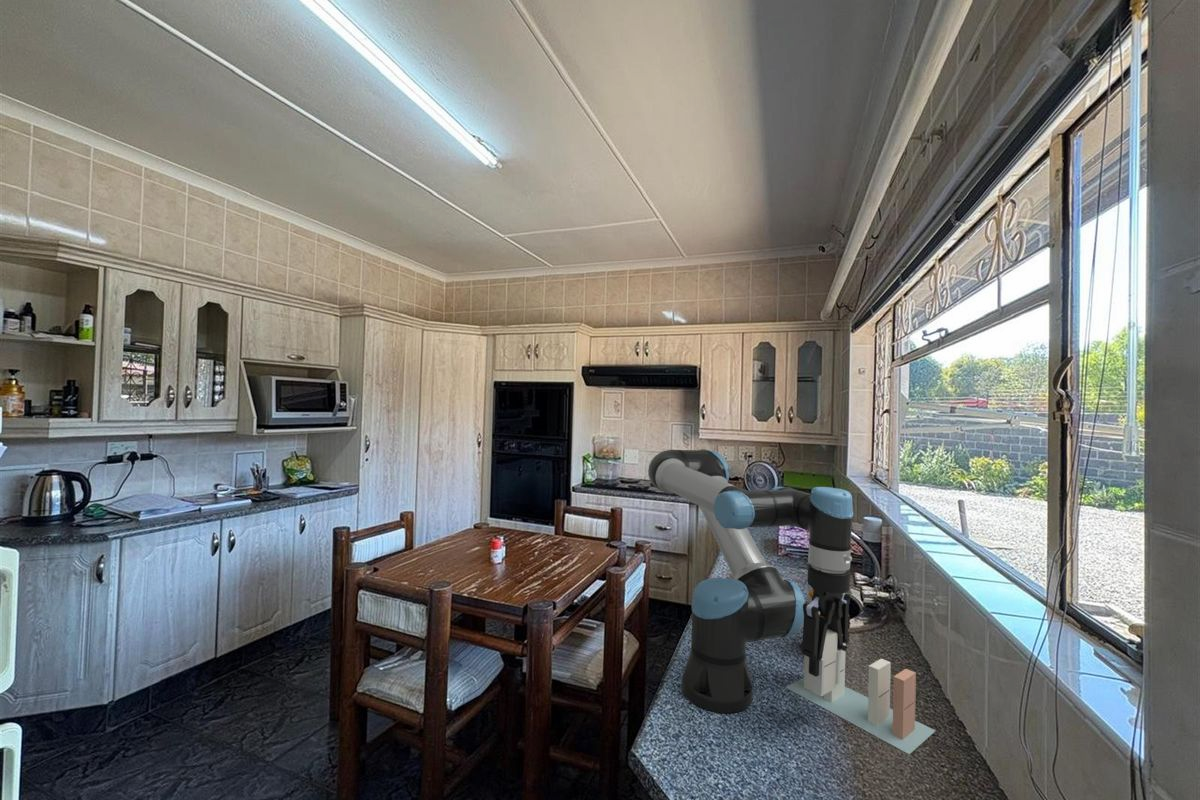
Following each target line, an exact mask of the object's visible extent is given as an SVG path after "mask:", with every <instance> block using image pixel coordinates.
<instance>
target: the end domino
mask: <svg viewBox="0 0 1200 800" xmlns="http://www.w3.org/2000/svg"><path fill="white" fill-rule="evenodd" d="M916 683H917V672H916V671H913V670H910V669H908V668H904V669H903V670H902V671H899V672H898V673H897V674H895V675H893V687H892V688H893V691H892V710H893V733H892V734H893V735H895V736H897V737H898V738H900V739H902V740H903V739H904V738H905V737H907V736H908V735H909V734H910V733H911V732H913V731H914V730H915V721H916V691H917V688H916Z"/></svg>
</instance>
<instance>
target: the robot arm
mask: <svg viewBox="0 0 1200 800" xmlns="http://www.w3.org/2000/svg"><path fill="white" fill-rule="evenodd" d="M728 470H729V465H728V462H727V460H726V459H725V458H724V456H723V455H722V454H721V453H719V452H718V451H715V450H710V449H709V450H708V449H703V448H702V449H697V450H696V449H667V450H663V451H660V452H658V453H657V454H656V455H654V457H652V459H651V461H650V463H649V465H648V471H647V475H648V478H649V481H650V483H651V484H652V486H653V487H655V489H657V490H659V491H660V492H663V493H665V494H668V495H669V494H670V495H671V494H675V495H677V496H679V497H681V498H683V499H685V500H686V501H689V502H691V503H693V504H695V505H696V506H699V509H700V510H701V512H702V514H703V516H704V519H705V521H706V523H707V525H708V526H709V529H710V532H711V533H712V535H713V537H714V539H715V541H716V544H717V545H718V548H719V550H720V552H721V554H722V556H723V558H724V560H725V562H726V563H727V567H728V568H729V571H730V573H731V574H732V576H733V578H731V577H722V576H721V577H718V576H717V577H711V578H707V579H704V580H701V581H700V582H699V583H697V584H696V586H695V587H694V589H693V592H692V600H691V601H692V602H691V637H690V638H691V640H690V642H691V643H690V654H689V656H688V658H687V661H686V664H685V667H684V669H683V672H682V675H681V689H682V690H681V691H682V693H683V694H684V696H685V697H686V698H687V699H688V700H689V701H690V702H691V703H692V704H694V705H696V706H699V707H700V708H702V709H705V710H708V711H711V712H715V713H721V714H722V713H723V714H731V713H733V714H734V713H739V712H743V711H746V710H747V709H748V708H749V707H750V706H751V705H752V704H753V701H754V685H753V682H752V678H751V675H750V672H749V668H748V665H747V662H746V653H747V643H751V642H757V641H758V642H759V641H761V640H763V641H765V640H770V639H778V638H779V639H783V638H787V636H791V635H792V636H793V635H795V634H797V633H799V632H800V631H801V630H802V643H801V654H802V655H803V656H804V655H806V656H808V657H809V673H808V688H809V689H811V690H813V691H815V692H817V693H819V694H821V695H822V694H823V688H824V664H825V659H823V658H822V655H823V649H824V643H825V638H826V632H827V630H828V629H829V630H832V631H834V632H837V635H838V640H837V662H836V684H837V685H839V684H840V664H841V650H843V651H845V652H846V651H847V650H848V646H847V645H846V646H844V645H843V643H845V644H848V643H849V615H850V611H849V610H850V602H851V594H849V593H848V592H849V591H850V585H851V584H850V583H851V573H850V572H849V570H850V569H851V562H852V561H853V557H852V556H851V551H852V532H853V531H852V530H853V517H854V507H853V495H852V493H850V491H848V490H845V489H842V488H837V487H832V486H831V487H830V486H816V487H813V488H811V491H810V493H809V492H805V491H801V490H797V489H794V488H792V487H789V486H788V487H785V486H774V487H772V488H771V489H770V490H749V489H748V490H746V489H743V488H742V487H738V486H736V485H734V484H731V483H729V479H730V472H729V471H728ZM787 526H789V527H797V528H799V529H803V530H805V531H808V533H809V534H808V535H809V536H808V553H807V554H808V555H807V562H808V563H809V565H808V566H807V580H806V581H807V584H808V585H809V587H811V589H813V590H814V591H813V596H812V602H811V603H810V604H807V603H806V599H805V597H804V594H803V592H802V590H801V589H800V587H799V585H798V584H797V583H795V582H793V581H792V580H789V579H783V578H782V576H781V575H780V572H779V571H778V570H777V568H776V567H775V566H774V565H770V564H768V563H767V562H766V560H765V559H764V557H763V554H762V553H761V551H760V550H759V548H758V546H757V543H756V542H755V541H754V539H753V536H752V535H751V533H750V531H749V530H748V529H753V528H754V529H756V528H770V527H772V528H773V527H787ZM819 615H820V616H819ZM821 616H823V617H825V618H823V617H821ZM842 635H843V636H842Z"/></svg>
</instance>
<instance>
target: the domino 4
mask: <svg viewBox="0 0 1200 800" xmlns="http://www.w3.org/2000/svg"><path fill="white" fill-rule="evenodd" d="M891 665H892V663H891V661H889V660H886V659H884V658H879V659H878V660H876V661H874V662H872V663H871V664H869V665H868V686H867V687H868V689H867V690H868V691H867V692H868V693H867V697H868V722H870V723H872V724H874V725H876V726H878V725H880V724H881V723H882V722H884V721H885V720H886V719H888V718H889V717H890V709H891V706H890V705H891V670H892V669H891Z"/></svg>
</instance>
